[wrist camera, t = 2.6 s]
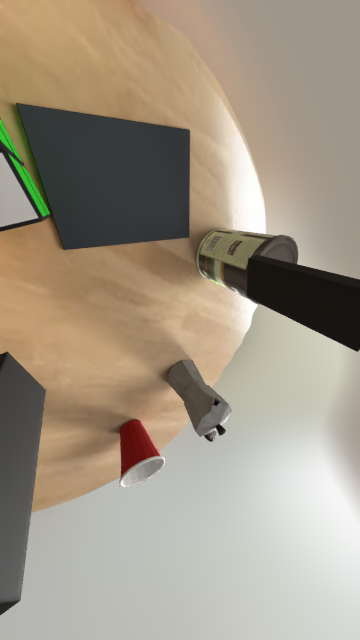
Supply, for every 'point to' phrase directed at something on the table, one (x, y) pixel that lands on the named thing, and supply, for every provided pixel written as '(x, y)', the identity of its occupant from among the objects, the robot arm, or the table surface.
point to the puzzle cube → (17, 189)
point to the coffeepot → (199, 399)
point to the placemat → (110, 176)
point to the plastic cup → (137, 455)
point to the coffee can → (239, 255)
